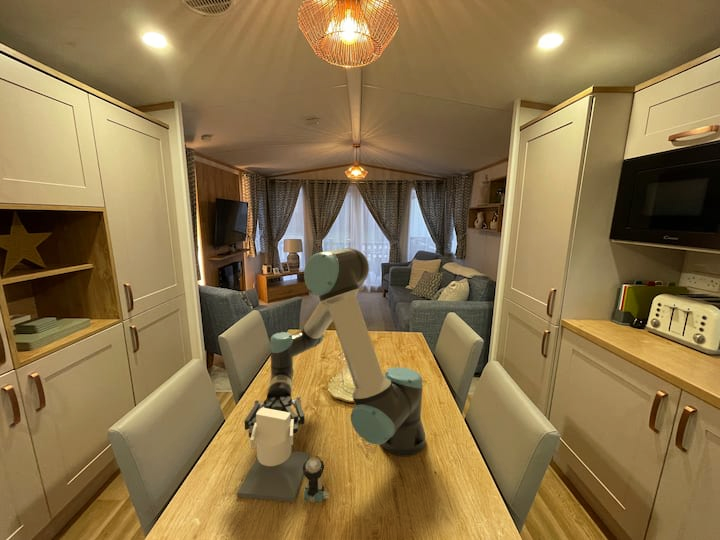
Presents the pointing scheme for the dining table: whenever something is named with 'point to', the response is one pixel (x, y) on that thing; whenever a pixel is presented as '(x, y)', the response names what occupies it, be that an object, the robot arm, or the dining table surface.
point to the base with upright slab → (273, 436)
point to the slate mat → (275, 479)
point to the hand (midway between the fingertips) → (271, 442)
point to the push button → (314, 480)
